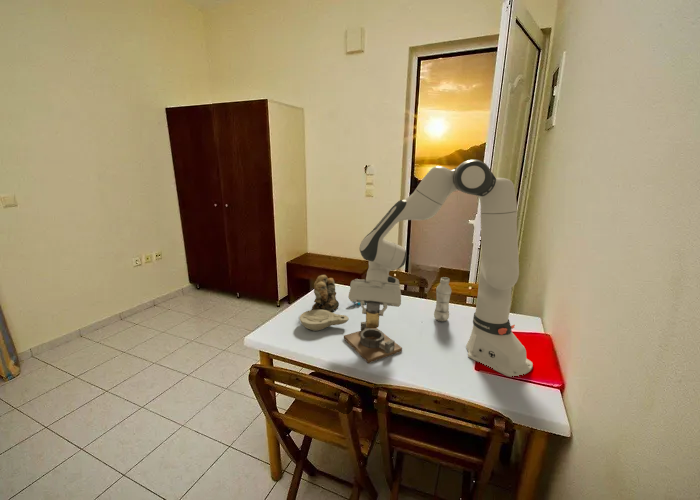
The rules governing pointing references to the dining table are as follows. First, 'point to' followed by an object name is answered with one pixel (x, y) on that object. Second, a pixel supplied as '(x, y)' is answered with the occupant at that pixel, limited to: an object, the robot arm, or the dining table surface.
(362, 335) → the shaft seat
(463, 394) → the dining table surface
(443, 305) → the plastic bottle
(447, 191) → the robot arm
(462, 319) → the dining table surface
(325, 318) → the oil lamp
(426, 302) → the dining table surface
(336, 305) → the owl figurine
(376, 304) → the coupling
